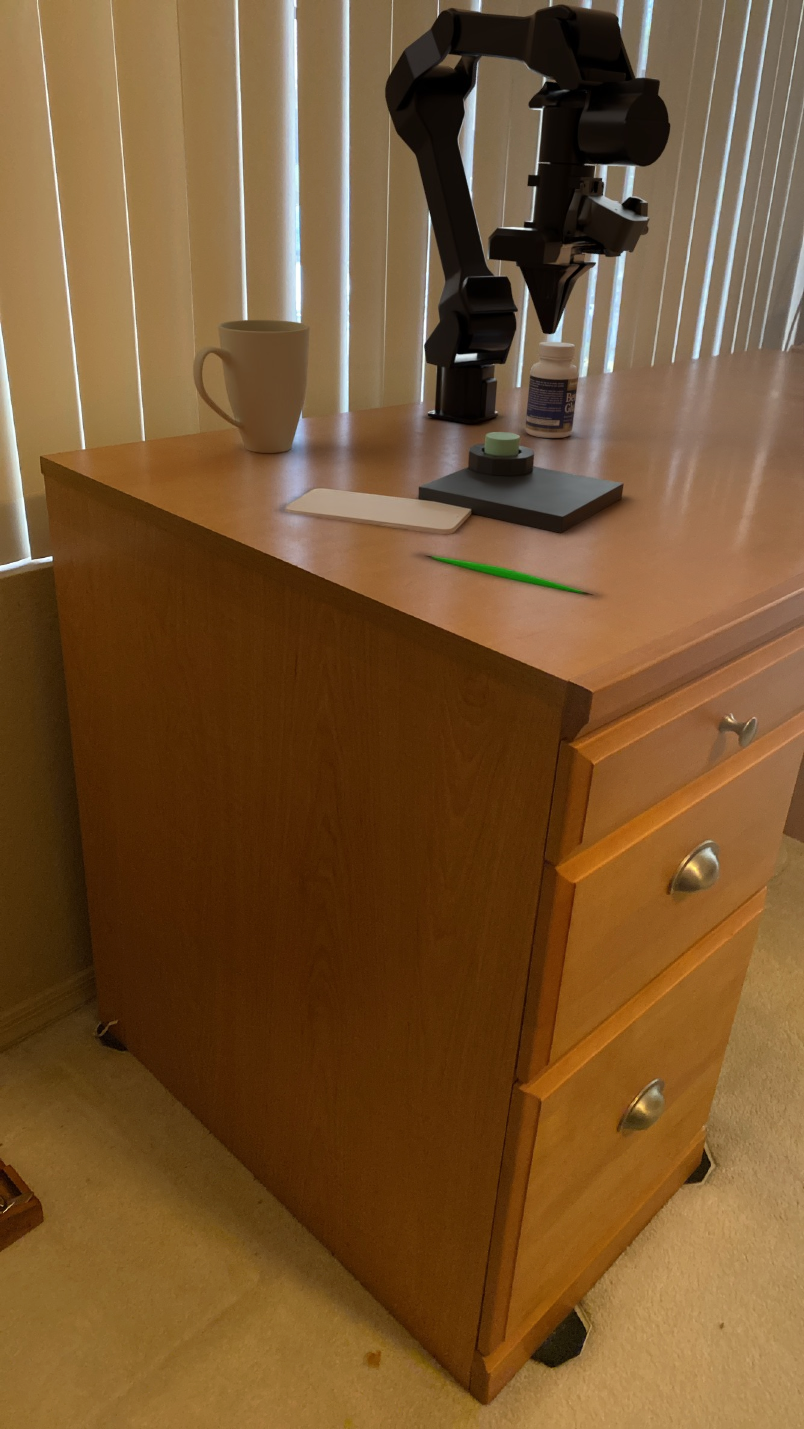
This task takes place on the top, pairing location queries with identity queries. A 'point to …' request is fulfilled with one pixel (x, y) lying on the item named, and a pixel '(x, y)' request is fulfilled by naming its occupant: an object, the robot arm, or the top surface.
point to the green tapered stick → (506, 574)
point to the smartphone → (380, 510)
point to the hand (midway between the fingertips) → (548, 333)
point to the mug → (261, 379)
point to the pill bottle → (552, 391)
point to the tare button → (502, 443)
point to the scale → (522, 491)
